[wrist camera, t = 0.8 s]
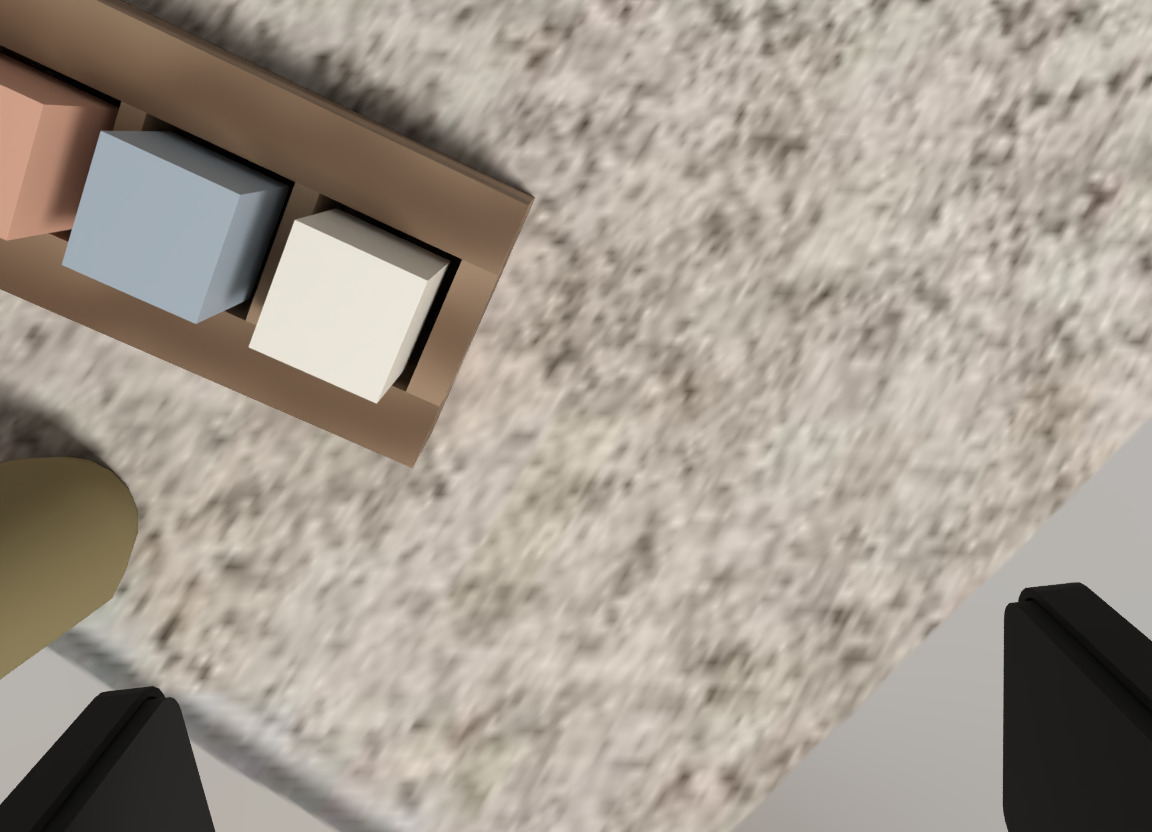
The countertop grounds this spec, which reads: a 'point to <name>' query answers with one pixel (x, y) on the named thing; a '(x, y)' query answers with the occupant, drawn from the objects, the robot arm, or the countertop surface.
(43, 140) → the peach cube
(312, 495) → the countertop surface
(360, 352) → the key cream
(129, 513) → the squeeze bottle
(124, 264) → the key slate
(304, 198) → the wooden compartment tray
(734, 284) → the countertop surface
